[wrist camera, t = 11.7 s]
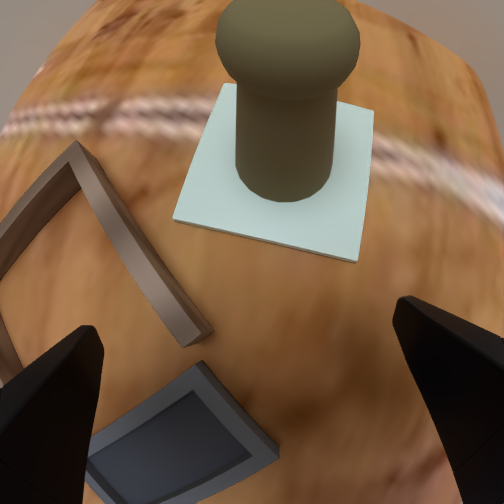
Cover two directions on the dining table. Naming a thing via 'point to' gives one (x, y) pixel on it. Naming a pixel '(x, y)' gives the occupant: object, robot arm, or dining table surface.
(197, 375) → the tray
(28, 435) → the robot arm
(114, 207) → the frame
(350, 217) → the sage pad
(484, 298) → the dining table surface
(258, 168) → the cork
